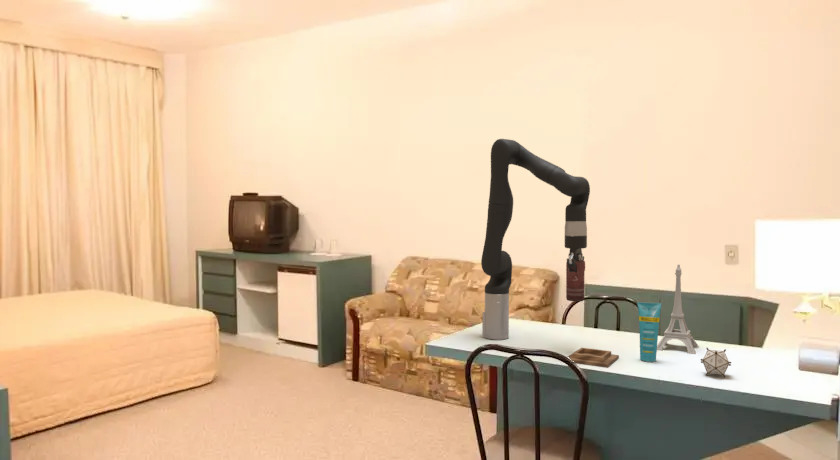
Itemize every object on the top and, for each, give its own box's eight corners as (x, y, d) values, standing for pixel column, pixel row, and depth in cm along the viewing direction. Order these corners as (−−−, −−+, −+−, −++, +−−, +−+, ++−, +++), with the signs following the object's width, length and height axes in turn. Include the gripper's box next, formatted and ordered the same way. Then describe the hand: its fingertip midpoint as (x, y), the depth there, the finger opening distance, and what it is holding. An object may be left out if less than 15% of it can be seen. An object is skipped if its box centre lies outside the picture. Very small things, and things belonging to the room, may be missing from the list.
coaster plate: (564, 361, 206) (564, 354, 206) (577, 352, 218) (577, 345, 218) (607, 367, 199) (607, 359, 199) (618, 358, 211) (618, 350, 211)
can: (585, 301, 216) (585, 260, 216) (566, 301, 218) (566, 260, 217) (584, 299, 222) (584, 259, 222) (566, 298, 224) (566, 259, 223)
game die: (707, 386, 192) (689, 356, 196) (733, 376, 192) (714, 346, 197) (716, 379, 184) (697, 348, 188) (743, 368, 184) (723, 337, 189)
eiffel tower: (659, 342, 235) (661, 262, 234) (698, 346, 229) (700, 264, 227) (654, 350, 223) (656, 265, 222) (695, 354, 217) (697, 267, 216)
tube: (636, 361, 207) (637, 302, 206) (636, 357, 212) (637, 300, 211) (660, 363, 205) (661, 304, 204) (659, 359, 209) (661, 301, 209)
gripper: (570, 233, 227) (570, 281, 227) (559, 235, 215) (558, 285, 216) (591, 233, 223) (591, 282, 224) (580, 235, 212) (580, 287, 212)
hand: (575, 284), depth 220 cm, fingers closed
